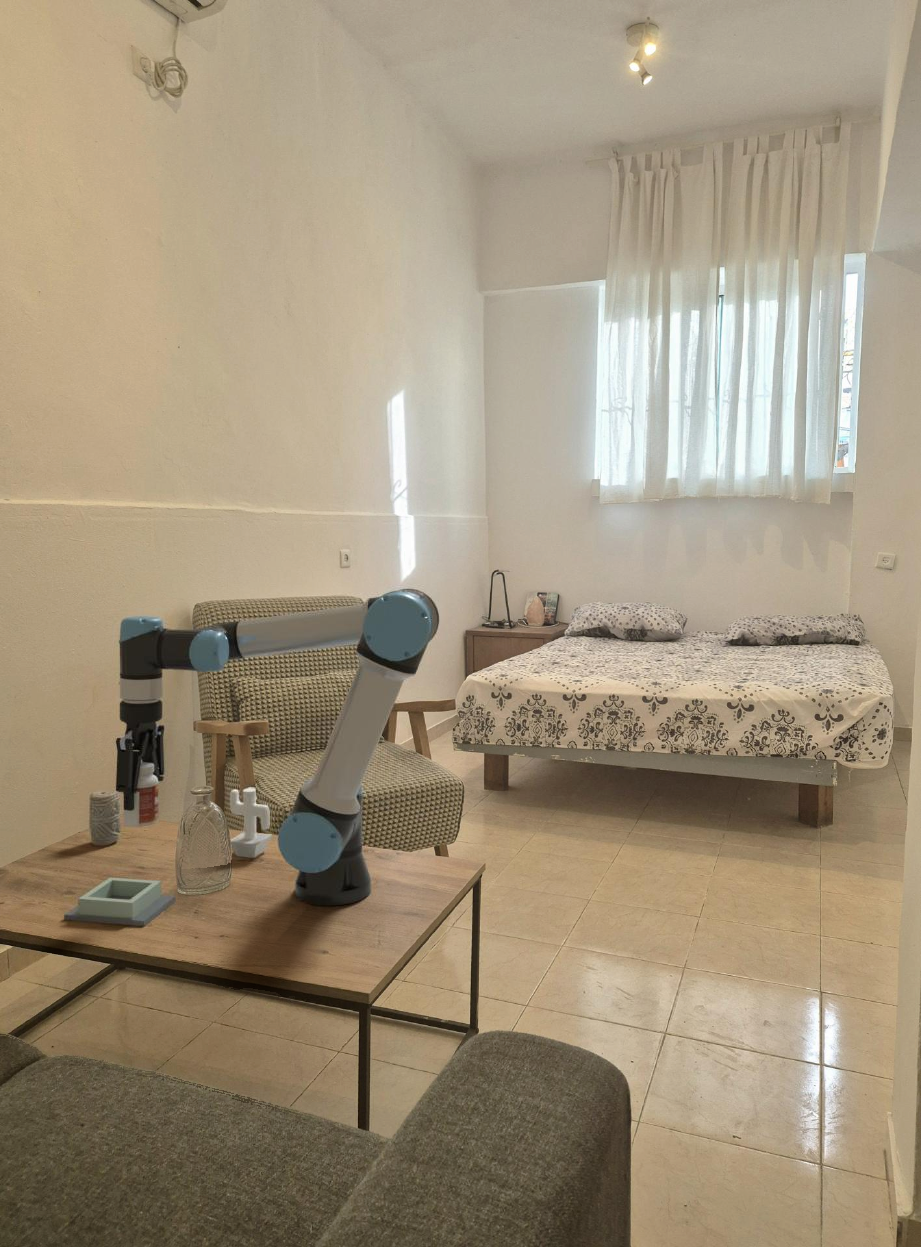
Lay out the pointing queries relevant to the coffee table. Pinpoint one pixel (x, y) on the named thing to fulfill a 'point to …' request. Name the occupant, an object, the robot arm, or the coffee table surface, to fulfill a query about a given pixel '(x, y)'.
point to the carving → (104, 817)
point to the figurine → (250, 824)
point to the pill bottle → (147, 795)
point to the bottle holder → (121, 902)
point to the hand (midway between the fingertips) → (140, 820)
